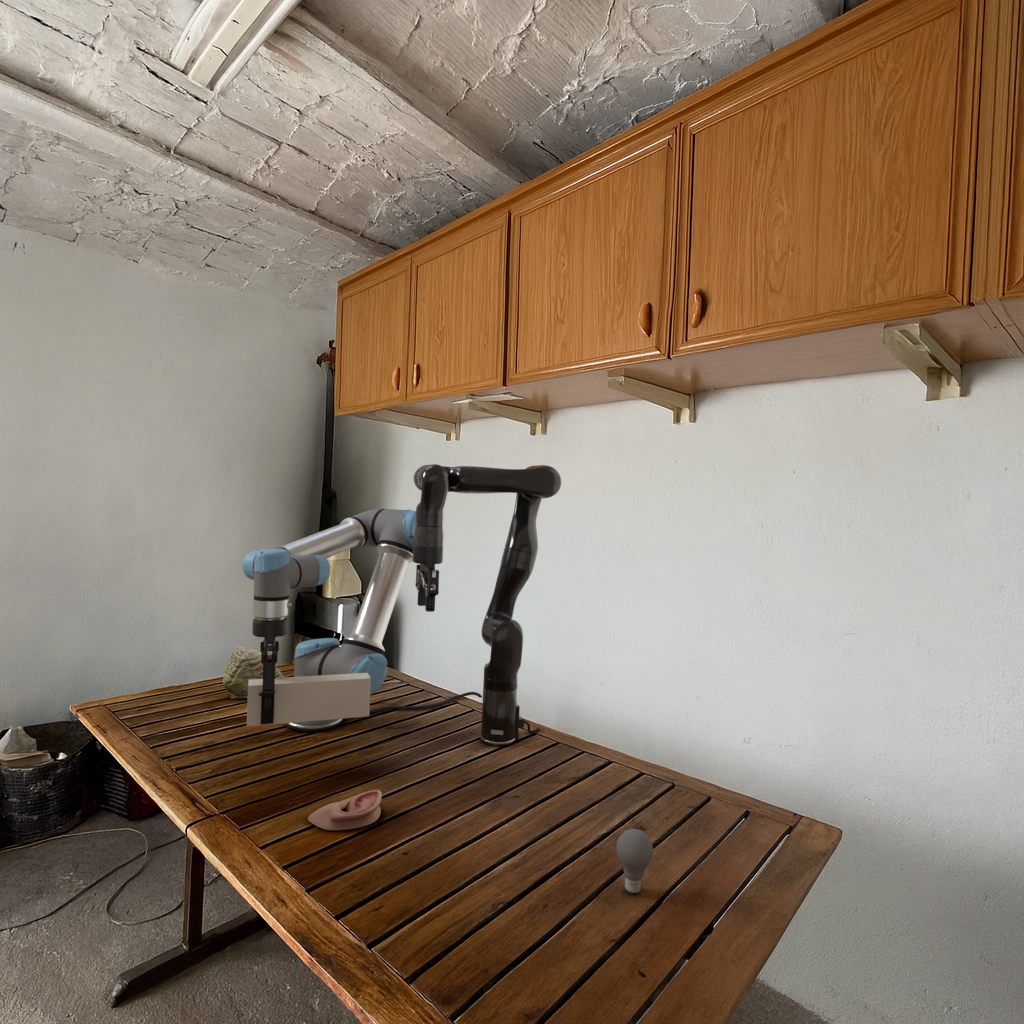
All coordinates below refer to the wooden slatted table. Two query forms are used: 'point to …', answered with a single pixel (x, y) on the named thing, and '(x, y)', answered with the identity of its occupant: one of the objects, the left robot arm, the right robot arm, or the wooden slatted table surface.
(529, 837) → the wooden slatted table surface
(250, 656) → the fossil
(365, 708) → the bar
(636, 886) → the light bulb
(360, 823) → the anatomical model
